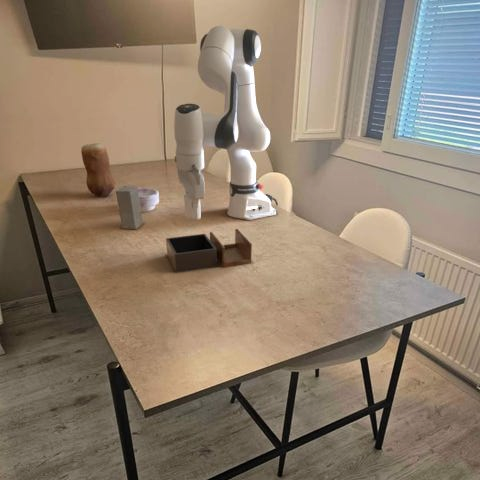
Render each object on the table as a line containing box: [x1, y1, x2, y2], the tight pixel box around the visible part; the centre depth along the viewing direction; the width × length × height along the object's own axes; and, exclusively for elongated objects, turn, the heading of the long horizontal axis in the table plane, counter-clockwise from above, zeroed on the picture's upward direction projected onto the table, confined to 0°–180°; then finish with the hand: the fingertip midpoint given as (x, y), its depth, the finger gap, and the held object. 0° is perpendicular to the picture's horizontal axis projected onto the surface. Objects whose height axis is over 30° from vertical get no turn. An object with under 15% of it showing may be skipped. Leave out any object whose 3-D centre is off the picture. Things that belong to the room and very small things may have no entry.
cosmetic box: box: [115, 185, 144, 230], centre depth 176 cm, size 8×7×16 cm
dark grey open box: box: [165, 233, 218, 273], centre depth 151 cm, size 15×15×7 cm
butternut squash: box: [80, 142, 116, 198], centre depth 207 cm, size 14×13×25 cm
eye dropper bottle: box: [183, 193, 202, 221], centre depth 141 cm, size 4×6×12 cm
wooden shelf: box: [209, 228, 253, 268], centre depth 154 cm, size 11×15×7 cm
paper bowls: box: [138, 187, 160, 213], centre depth 196 cm, size 15×15×8 cm
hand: (192, 204), depth 142 cm, fingers closed on eye dropper bottle, 5 cm apart
